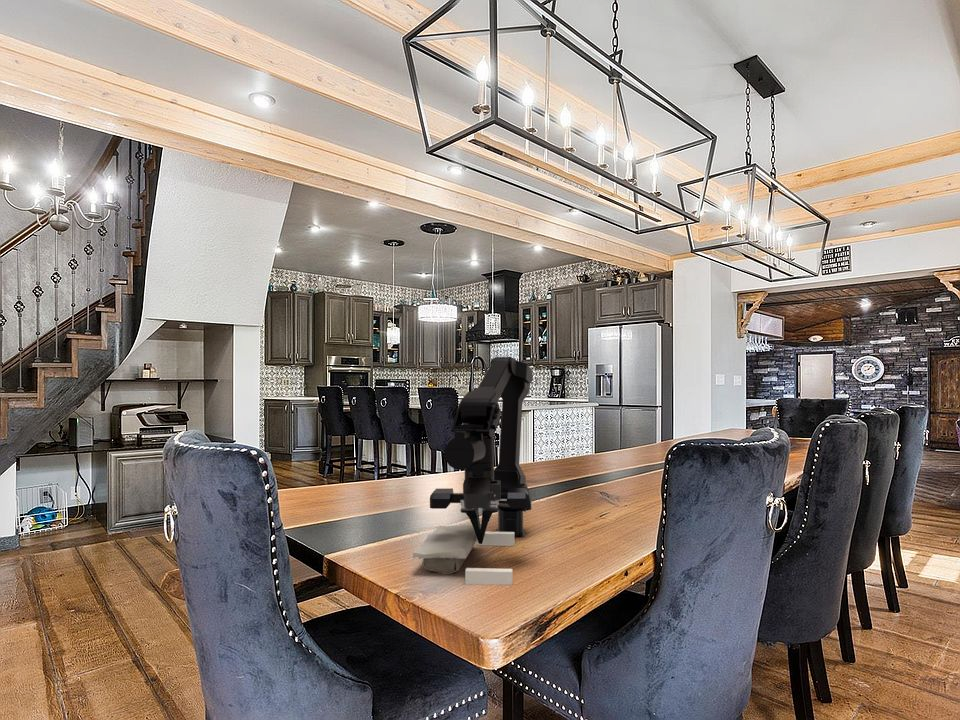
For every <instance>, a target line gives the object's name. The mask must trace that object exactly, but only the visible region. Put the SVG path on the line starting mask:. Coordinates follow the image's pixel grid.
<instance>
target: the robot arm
mask: <svg viewBox="0 0 960 720" xmlns="http://www.w3.org/2000/svg"><path fill="white" fill-rule="evenodd" d="M533 376H534V375H533V369H532V367H530V365H528V364H527V363H525V362H522V361H520V360H517V359H516V358H515V357H512V356H495V357H493V358H491V359H490V364H489V367H488V369H487V371H486V372H485V375H484V377H483V378H482V380H481V381H480V383H479V385H478V387H477V388H475V389H472V390H471V391H468V392H467V393H466V394H465V395H464V396H463V397H462V399H460V402H459V403H458V405H457V409H456V411H455V415H454V419H453V423H452V426H451V433H452V434H454V437H453V438H452V439H450V440H449V441H448V442H447V444H446V445H445V449H444V454H443V455H444V458H445V461H446V463H447V464H448V466H449V467H451V468H452V469H455V470H457V471H458V470H459V471H461V470H464V479H463V483H462V492H454V488H450V487H449V488H448V487H447V488H435V489H434V490H433V491H432V493H431V494H430V497H429V508H430V509H432V510H433V509H434V510H435V509H438V510H441V509H444V510H445V509H447V508H448V507H449V506H450V505H451V504H460V506H461V508H460V510H459V511H460V513H461V514H462V513H463V514H466V516H467V517H468V518H469V519H468V520H469V521H470V522H471V525H473V528H474V531H475V534H476V537H477V540H478V543H479V544H482V542H483V539H484V535H485V532H487V531H486V530H487V528H488V524H489V522H490V519H491V517H492V515H493V514H494V513H495V514H496V513H497V529H496V532H514V538H517V539H518V538H523V539H524V538H526V529H525V528H524V512H525V513H526V512H527V511H532V496H531V493H530V490H529V488H528V484H527V480H526V479H527V478H526V474H525V473H524V471H523V469H522V467H521V465H520V453H521V436H522V435H521V433H522V410H523V402H524V401H525V398H526V397H527V396H528V394H530V392H531V391H530V390H531V384H532V383H533ZM500 398H501V399H502V402H501V403H502V405H501V408H500V404H499V401H500ZM499 421H501V422H500V439H499V442H500V444H499V456H498V457H499V458H498V464H497V465H496V467H495V457H494V454H495V453H494V449H495V448H494V436H495V430H497V427H498V424H499ZM479 509H482V511H481V512H482V513H481V519H480V513H479ZM480 524H481V527H480Z"/></svg>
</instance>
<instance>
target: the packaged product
mask: <svg viewBox="0 0 960 720" xmlns="http://www.w3.org/2000/svg"><path fill="white" fill-rule="evenodd" d="M480 527H481V523H480ZM475 543H477V537H476V534H475V531H474V528H473V525H472V524H461V525H459V524H458V525H444V526H443V525H442V526H437V527H436V528H435V530H434V531H433V532H432V533H430V534H427V536H426V538H425V540H423V542H422V544H420V545H419V547H418V548H417V549H416V550H415V551H412V559H415V558H418V559H422V565H423V568H424V569H425V570H426V571H430V572H435V573H440V574H443V575H452V574H453V573H457V572H459V571H460V568H461V567H462V565H463V564H464V562H465V560H466V559H467V558H468V556H469V554H470V553H471V551H472V550H473V549H474V546H475Z"/></svg>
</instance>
